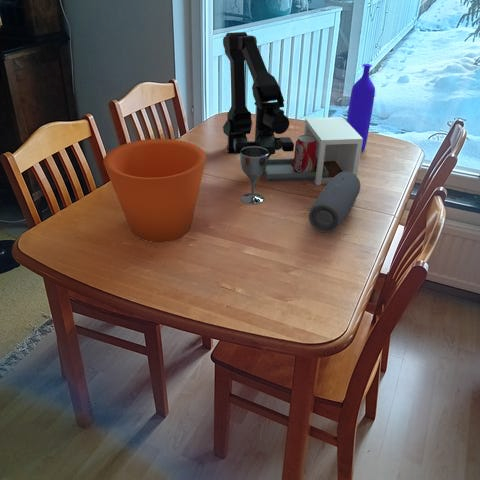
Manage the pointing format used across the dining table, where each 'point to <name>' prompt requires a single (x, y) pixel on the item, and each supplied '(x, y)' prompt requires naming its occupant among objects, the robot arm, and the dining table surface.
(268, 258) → the dining table surface
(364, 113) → the bottle
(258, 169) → the wine glass
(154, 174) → the flowerpot
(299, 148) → the soda can
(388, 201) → the dining table surface
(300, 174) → the tray
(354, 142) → the white side table
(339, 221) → the bluetooth speaker
